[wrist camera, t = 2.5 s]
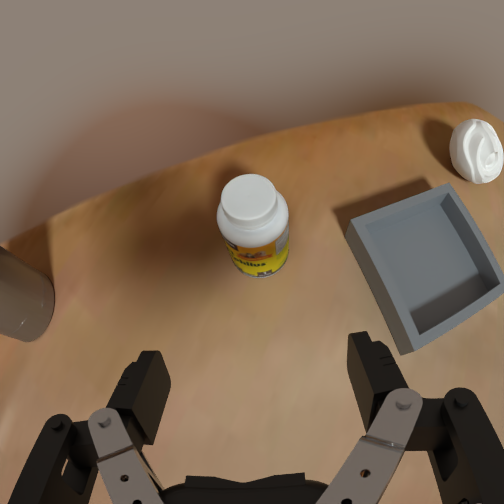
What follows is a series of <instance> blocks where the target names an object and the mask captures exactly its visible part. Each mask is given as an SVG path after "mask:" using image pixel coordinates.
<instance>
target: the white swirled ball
mask: <svg viewBox="0 0 504 504" xmlns="http://www.w3.org/2000/svg"><path fill="white" fill-rule="evenodd" d="M449 151H450V157H451V161H452V165H453V167H454V168H455V169H456V171H457V172H458V173H459V174H460V175H461V176H462V177H463V178H465V179H466V180H468V181H470V182H473V183H475V184H481V183H488V182H490V181H492V180H493V179H495V178H496V177H497V176H498V175H499V174H500V172H501V169H502V166H503V149H502V145H501V143H500V141H499V139H498V136H497V134H496V132H495V130H494V129H493V127H492V126H491V125H490V124H488V123H487V122H485V121H482V120H479V119H469V120H466V121H464V122H462V123H461V124H459V125H458V126H457V127H456V128H455V129H454V130H453V132H452V137H451V140H450V145H449Z"/></svg>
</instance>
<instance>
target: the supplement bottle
mask: <svg viewBox="0 0 504 504" xmlns="http://www.w3.org/2000/svg"><path fill="white" fill-rule="evenodd" d="M217 223H218V227H219V229H220V232H221V234H222V236H223V239H224V241H225V244H226V246H227V248H228V251H229V253H230V256H231V258H232V260H233V262H234V264H235V266H236V267H237V268H238V270H240V271H241V272H242V273H243V274H245V275H247V276H250V277H254V278H265V277H269V276H271V275H273V274H275V273H277V272H278V271H279V270H280V269H281V268H282V267H283V266H284V264H285V262H286V260H287V257H288V251H289V213H288V207H287V204H286V201H285V199H284V198H283V196H282V195H281V194H280V193H279V192H278V191H277V190H276V189H275V187H274V185H273V184H272V183H271V181H269V180H268V179H267V178H265V177H263V176H260V175H257V174H245V175H240V176H238V177H236V178H234V179H232V180H231V181H230V182H229V183H228V184H227V185H226V186H225V187H224V189H223V191H222V194H221V202H220V204H219V206H218V209H217Z"/></svg>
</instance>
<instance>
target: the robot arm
mask: <svg viewBox="0 0 504 504" xmlns="http://www.w3.org/2000/svg"><path fill="white" fill-rule="evenodd" d="M53 308H54V291H53V287H52V284H51V282H50V280H49V278H48V277H47V276H46V275H45V274H43V273H42V272H40V271H38V270H37V269H35V268H33V267H32V266H30V265H29V264H27V263H26V262H24V261H23V260H21V259H19V258H18V257H16V256H15V255H13V254H12V253H10V252H9V251H7V250H6V249H4V248H3V247H1V246H0V334H2V335H5V336H8V337H11V338H15V339H18V340H21V341H24V342H30V341H33V340H35V339H37V338H38V337H40V336H41V335H42V334H43V332H44V331H45V330H46V328H47V326H48V324H49V322H50V320H51V317H52V313H53ZM347 370H348V375H349V378H350V381H351V384H352V388H353V391H354V394H355V397H356V400H357V404H358V407H359V410H360V414H361V417H362V420H363V424H364V427H365V431H366V433H367V434H366V435H365V436H362V437H361V438H360V439H359V441H358V442H357V444H356V446H355V447H354V449H353V450H352V452H351V454H350V455H349V457H348V458H347V460H346V461H345V463H344V464H343V466H342V467H341V469H340V470H339V472H338V473H337V475H336V476H335V478H334V479H333V481H332V482H331V483H330V485H327V484H325V483H322V482H318V481H313V480H305V473H295V474H284V475H274V476H270V477H266V478H263V479H259V480H255V481H251V482H246V483H240V482H235V481H230V480H226V479H221V478H217V477H205V476H186V480H185V483H182V484H178V485H174V486H171V487H169V488H167V489H165V488H164V487H163V486H162V484H161V483H160V481H159V479H158V478H157V476H156V474H155V473H154V471H153V469H152V467H151V466H150V464H149V462H148V460H147V458H146V457H145V455H144V453H143V451H142V447H143V444H146V445H153V444H154V440H155V437H156V434H157V430H158V427H159V424H160V421H161V417H162V414H163V411H164V408H165V404H166V401H167V398H168V395H169V392H170V388H171V380H170V376H169V373H168V370H167V368H166V365H165V363H164V360H163V357H162V354H161V352H160V351H142V352H141V354H140V356H139V358H138V360H137V362H132V363H131V364H130V365H129V366H128V367H127V368H126V369H125V370H124V372H123V374H122V376H121V379H120V380H119V382H118V386H116V388H115V390H114V392H113V394H112V396H111V398H110V400H109V402H108V404H107V406H106V408H102V409H99V410H97V411H95V412H94V413H93V414H92V415H91V416H90V418H89V420H87V421H80V422H72V420H71V419H70V418H69V417H68V416H67V415H65V414H57V415H54V416H52V417H51V418H49V419H48V420H47V421H46V423H45V425H44V427H43V429H42V431H41V433H40V435H39V437H38V439H37V441H36V443H35V445H34V447H33V449H32V451H31V453H30V455H29V457H28V459H27V461H26V463H25V465H24V467H23V470H22V472H21V474H20V476H19V478H18V481H17V483H16V485H15V488H14V490H13V492H12V495H11V497H10V499H9V502H8V504H88V503H89V500H90V496H91V493H92V490H93V486H94V483H95V480H96V477H97V474H98V470H99V471H100V474H101V476H102V479H103V481H104V484H105V486H106V489H107V491H108V493H109V496H110V498H111V500H112V503H113V504H378V503H379V501H380V499H381V498H382V496H383V494H384V492H385V490H386V488H387V486H388V484H389V483H390V481H391V479H392V477H393V475H394V473H395V471H396V469H397V467H398V465H399V463H400V461H401V458H402V456H403V454H404V452H405V451H427V453H428V456H429V459H430V462H431V465H432V468H433V472H434V475H435V478H436V482H437V485H438V489H439V492H440V496H441V500H442V503H443V504H504V449H503V447H502V444H501V442H500V440H499V438H498V436H497V434H496V432H495V430H494V428H493V426H492V424H491V422H490V420H489V418H488V416H487V415H486V413H485V411H484V409H483V407H482V405H481V403H480V402H479V400H478V398H477V396H476V395H475V393H474V392H472V391H471V390H469V389H466V388H454V389H452V390H450V391H448V392H447V394H446V395H445V397H444V398H437V399H428V398H422V397H421V396H420V394H419V393H418V392H416V391H414V390H412V389H409V387H408V385H407V383H406V381H405V379H404V377H403V375H402V373H401V371H400V369H399V367H398V365H397V364H396V362H395V360H394V358H393V357H392V354H391V352H390V350H389V348H388V347H387V346H386V345H385V344H383V343H382V342H381V341H375V342H372V341H371V339H370V337H369V335H368V333H367V331H363V332H357V333H351V334H349V335H348V351H347ZM66 459H68V463H67V465H66V468H65V470H64V473H63V475H61V472H62V469H63V466H64V464H65V461H66Z"/></svg>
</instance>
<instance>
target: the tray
mask: <svg viewBox="0 0 504 504" xmlns="http://www.w3.org/2000/svg"><path fill="white" fill-rule="evenodd" d="M345 239H346V240H347V242H348V244H349V246H350V248H351V250H352V252H353V254H354V256H355V258H356V260H357V262H358V264H359V266H360V268H361V270H362V272H363V274H364V276H365V278H366V280H367V282H368V284H369V286H370V288H371V290H372V292H373V295H374V297H375V299H376V301H377V303H378V305H379V307H380V310H381V312H382V314H383V316H384V318H385V321H386V323H387V325H388V327H389V330H390V332H391V334H392V336H393V339H394V341H395V343H396V346H397V348H398V350H399V353H400V355H404V354H407V353H410V352H413V351H416V350H417V349H419V348H421V347H423V346H424V345H426V344H428V343H430V342H431V341H433V340H435V339H436V338H438V337H440V336H441V335H443V334H445V333H446V332H448V331H449V330H451V329H453V328H454V327H456V326H457V325H459V324H460V323H462V322H463V321H465V320H466V319H468V318H469V317H471V316H472V315H474V314H475V313H477V312H478V311H480V310H481V309H483V308H484V307H485V306H487V305H488V304H490V303H491V302H492V301H494V300H495V299H496V298H498V297H499V296H500V295H502V294H503V293H504V274H503V272H502V270H501V268H500V266H499V264H498V262H497V261H496V259H495V257H494V255H493V253H492V251H491V249H490V247H489V246H488V244H487V242H486V240H485V238H484V237H483V235H482V233H481V231H480V230H479V228H478V226H477V225H476V223H475V221H474V220H473V218H472V216H471V215H470V213H469V212H468V210H467V208H466V207H465V205H464V204H463V202H462V201H461V199H460V198H459V196H458V195H457V193H456V192H455V190H454V189H453V187H452V186H451V184H450V183H447V184H444V185H441V186H439V187H436V188H433V189H431V190H428V191H425V192H423V193H420V194H418V195H415V196H412V197H410V198H407V199H404V200H402V201H399V202H396V203H394V204H391V205H388V206H386V207H383V208H380V209H377V210H375V211H372V212H369V213H367V214H364V215H361V216H359V217H356V218H353V219H351V220H350V222H349V225H348V228H347V231H346V234H345Z"/></svg>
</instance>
